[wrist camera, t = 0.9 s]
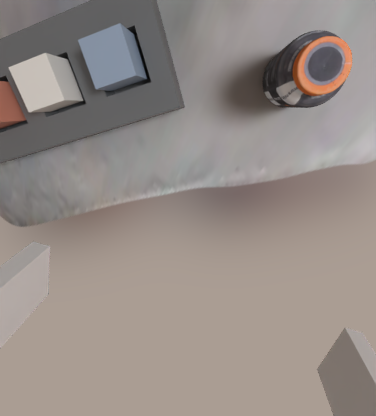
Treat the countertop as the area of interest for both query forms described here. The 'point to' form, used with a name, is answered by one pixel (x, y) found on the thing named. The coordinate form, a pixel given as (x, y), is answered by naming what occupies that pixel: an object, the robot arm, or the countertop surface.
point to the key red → (9, 106)
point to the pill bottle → (308, 70)
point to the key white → (46, 83)
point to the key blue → (113, 58)
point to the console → (93, 99)
